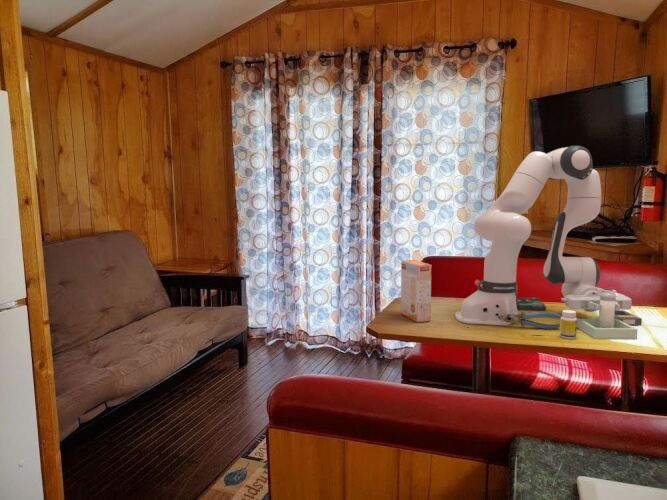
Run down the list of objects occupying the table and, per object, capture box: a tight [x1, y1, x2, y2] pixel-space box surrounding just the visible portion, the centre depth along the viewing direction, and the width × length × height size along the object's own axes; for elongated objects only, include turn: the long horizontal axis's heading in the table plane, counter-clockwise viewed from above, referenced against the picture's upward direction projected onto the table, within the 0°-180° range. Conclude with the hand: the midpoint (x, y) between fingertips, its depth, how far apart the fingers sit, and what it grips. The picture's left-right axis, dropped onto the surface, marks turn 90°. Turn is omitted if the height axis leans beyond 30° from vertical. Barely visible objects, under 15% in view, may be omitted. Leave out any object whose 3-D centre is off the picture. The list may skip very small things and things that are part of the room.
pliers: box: [498, 310, 562, 330], centre depth 170 cm, size 20×2×6 cm, turn 79°
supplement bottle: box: [559, 309, 578, 340], centre depth 159 cm, size 5×5×8 cm
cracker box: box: [400, 259, 432, 323], centre depth 184 cm, size 14×6×21 cm, turn 16°
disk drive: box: [516, 296, 547, 312], centre depth 201 cm, size 10×3×15 cm
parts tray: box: [576, 317, 639, 340], centre depth 163 cm, size 13×13×3 cm
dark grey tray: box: [614, 310, 643, 327], centre depth 178 cm, size 8×12×3 cm
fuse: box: [598, 292, 616, 328], centre depth 162 cm, size 5×5×11 cm
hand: (608, 307), depth 162 cm, fingers closed on fuse, 4 cm apart
